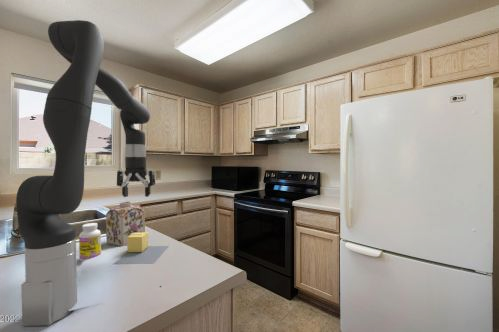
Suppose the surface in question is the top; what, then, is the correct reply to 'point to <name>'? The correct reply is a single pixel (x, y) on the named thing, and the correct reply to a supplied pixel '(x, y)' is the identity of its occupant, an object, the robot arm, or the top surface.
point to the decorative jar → (124, 223)
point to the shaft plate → (143, 256)
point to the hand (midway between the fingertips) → (136, 196)
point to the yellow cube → (137, 242)
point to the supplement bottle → (89, 241)
